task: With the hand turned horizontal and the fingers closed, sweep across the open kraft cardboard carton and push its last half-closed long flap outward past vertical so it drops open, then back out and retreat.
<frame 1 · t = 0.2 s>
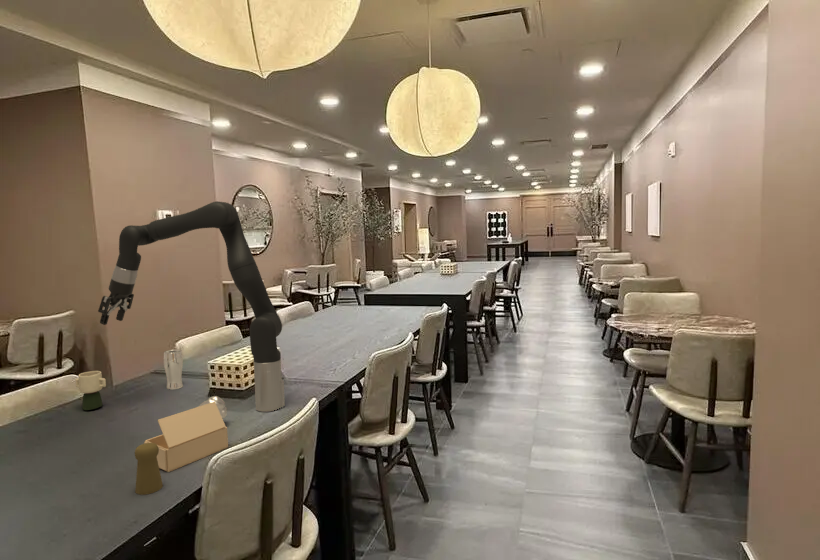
hand: (111, 322, 180), 31 cm above the table, tool tilted 20°, fingers open, 8 cm apart
trophy cup: (92, 409, 181), on the table
carton: (188, 454, 142), on the table
flap: (193, 423, 139), point 10 cm above the table, hinge at 35.0°
beer glass: (174, 387, 205), on the table
cork: (149, 489, 123), on the table
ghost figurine: (212, 427, 162), on the table
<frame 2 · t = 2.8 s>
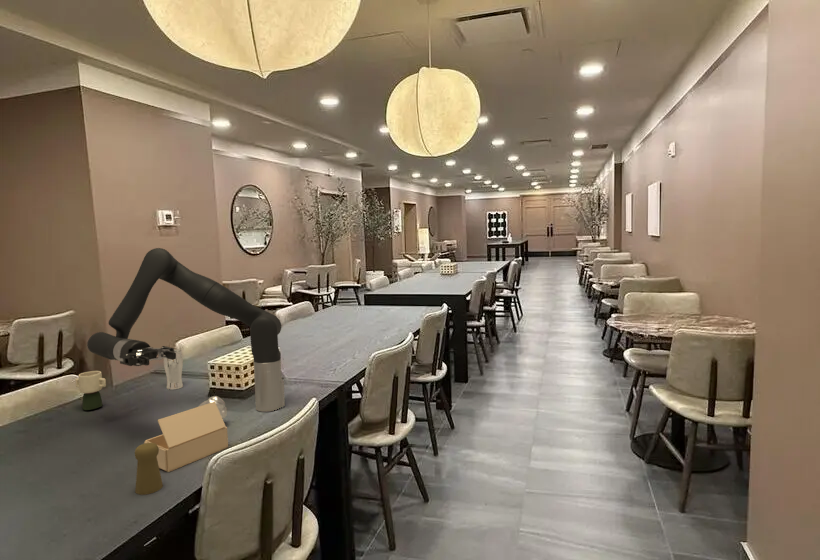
hand: (161, 358, 145), 26 cm above the table, tool horizontal, fingers open, 7 cm apart
nothing on the table moved.
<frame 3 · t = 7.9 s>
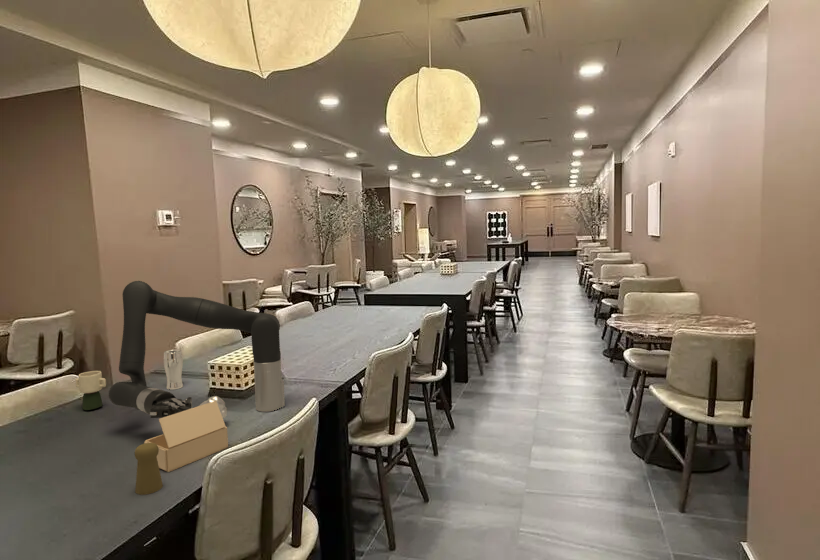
hand: (189, 412, 140), 12 cm above the table, tool horizontal, fingers closed
flap: (193, 423, 139), point 10 cm above the table, hinge at 29.5°, touching gripper
everything else where it was.
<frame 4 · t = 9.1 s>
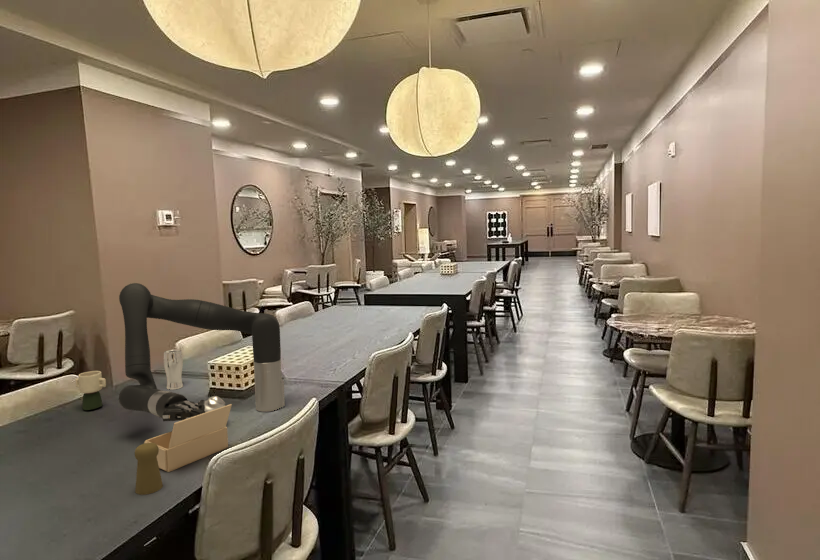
hand: (202, 415, 136), 13 cm above the table, tool horizontal, fingers closed
flap: (201, 425, 137), point 10 cm above the table, hinge at -25.1°, touching gripper
everything else where it was.
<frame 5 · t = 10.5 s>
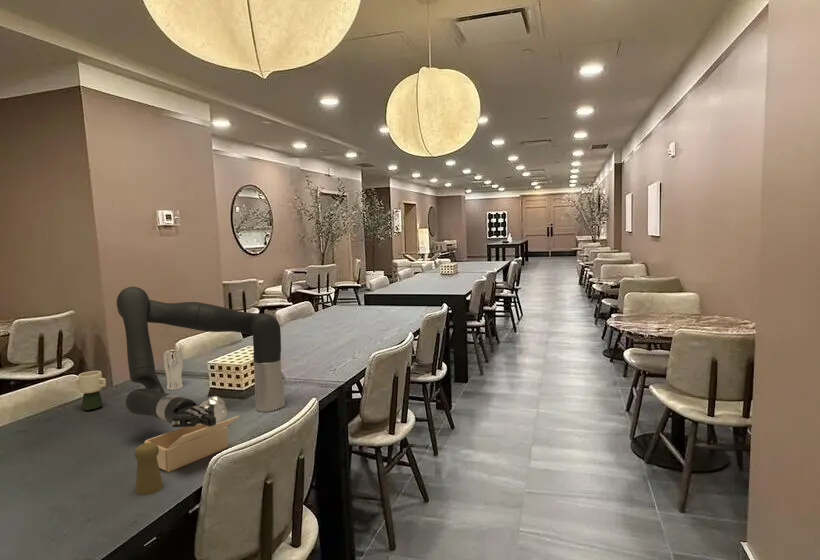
hand: (213, 421, 133), 12 cm above the table, tool horizontal, fingers closed
flap: (205, 431, 136), point 9 cm above the table, hinge at -55.5°, touching gripper
everything else where it was.
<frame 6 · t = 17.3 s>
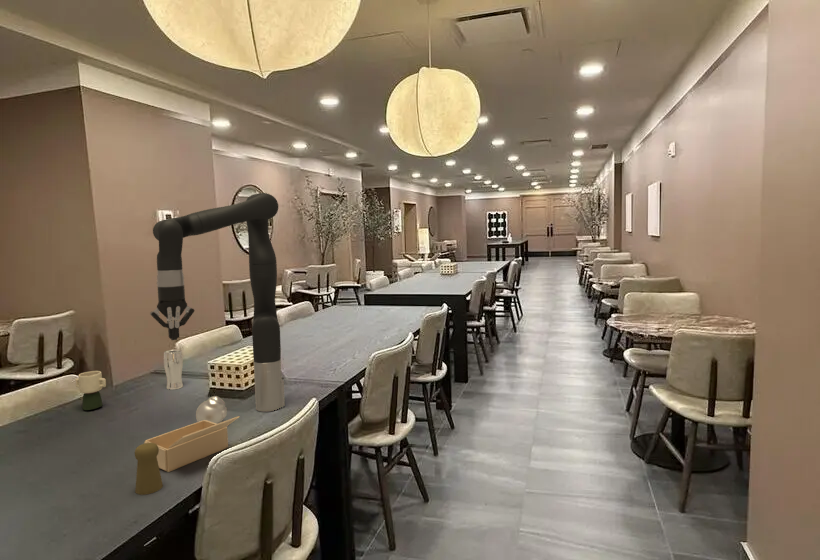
hand: (174, 339, 158), 29 cm above the table, tool pointing down, fingers closed
flap: (205, 431, 136), point 9 cm above the table, hinge at -56.8°
everything else where it was.
at the end: flap at -57° (first picture: +35°) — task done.
